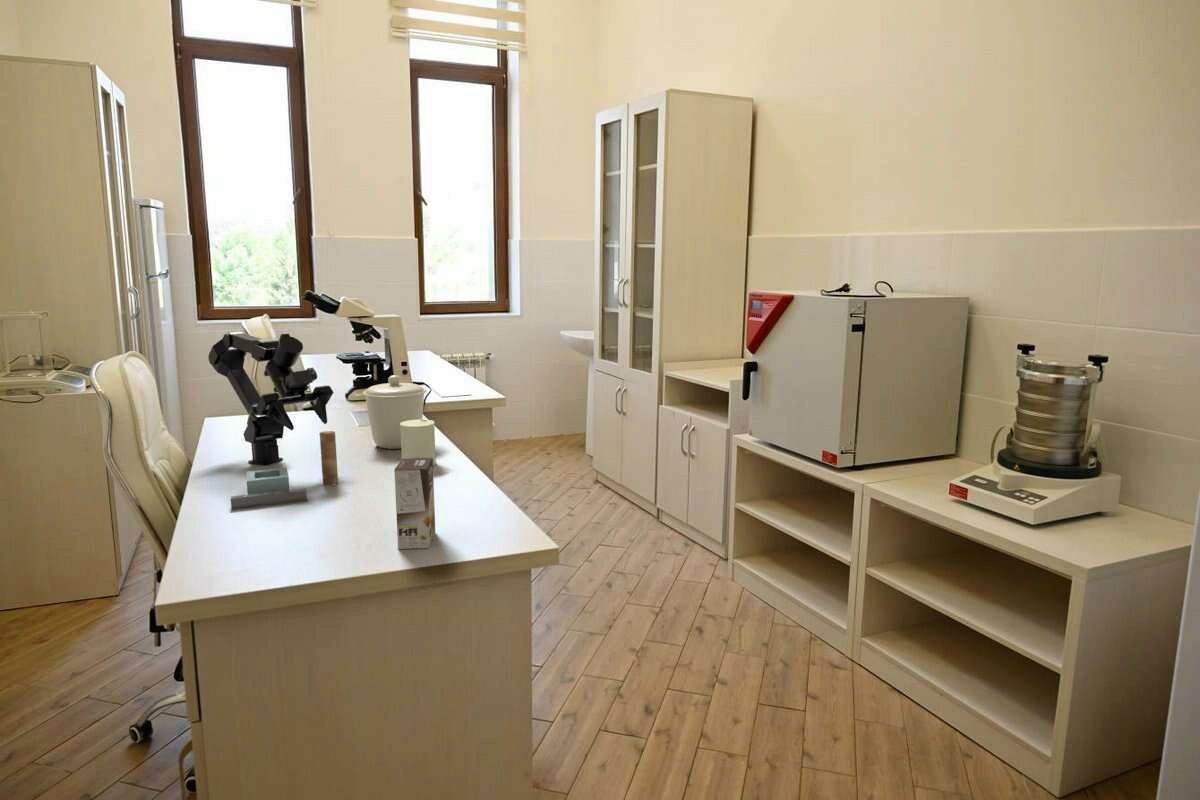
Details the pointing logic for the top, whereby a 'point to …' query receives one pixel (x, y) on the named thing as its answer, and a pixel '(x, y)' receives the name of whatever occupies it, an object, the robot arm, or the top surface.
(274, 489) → the socket block
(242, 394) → the robot arm
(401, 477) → the coffee box
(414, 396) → the canister
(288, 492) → the backstop bar
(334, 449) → the dowel
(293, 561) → the top surface
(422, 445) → the can
